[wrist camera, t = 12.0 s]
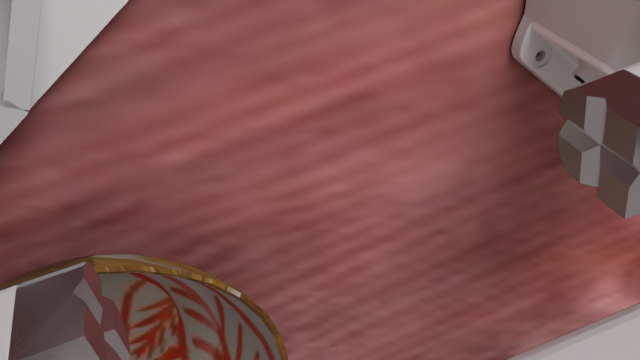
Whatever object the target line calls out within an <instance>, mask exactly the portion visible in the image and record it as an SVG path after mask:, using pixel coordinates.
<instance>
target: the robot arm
mask: <svg viewBox="0 0 640 360" xmlns="http://www.w3.org/2000/svg"><path fill="white" fill-rule="evenodd" d="M538 52H540V53H539V55H538V56H537V57H536V55H537V53H538ZM512 55H513V57H514V58H515V59H516V60H517V61H518V62H519V63H520V64H521V65H523V66H524V67H525V68H526V69H527V70H529V71H530V72H531V73H532V74H533V75H535V76H536V77H537V78H538V79H540V80H541V81H542V82H543V83H544V84H546V85H547V86H548V87H549V88H550V89H552V90H553V91H554V92H555V93H556V94H558V95H559V96H560V97H561V99H560V111H559V113H560V114H561V115H562V116H563V117H564V119H565V120H566V123H565V124H564V126H563V128H562V129H561V131H560V133H559V134H558V152H559V155H560V158H561V160H562V163H563V166H564V167H565V168H566V170H567V171H568V173H569V174H570V175H571V176H572V177H573V178H575V179H576V180H577V181H578V182H579V183H582V184H586V185H590V186H594V187H596V188H597V197H598V198H599V199H600V200H601V201H603V202H604V203H605V204H606V205H608V206H609V207H610V208H611V209H613V210H614V211H615V212H616V213H618V214H619V215H620V216H621V217H623V218H624V219H627V218H629V217H632V216H635V215H638V214H640V0H526V6H525V12H524V15H523V18H522V20H521V22H520V25H519V27H518V29H517V32H516V34H515V37H514V40H513V43H512ZM130 356H131V354H130V346H129V339H128V336H127V332H126V328H125V324H124V322H123V319H122V317H121V315H120V312H119V310H118V308H117V307H116V305H115V303H114V301H113V299H110V298H108V297H105V296H103V295H102V287H101V279H100V277H99V276H98V274H97V272H96V271H95V269H94V267H93V266H92V264H90V263H88V262H83V263H80V264H77V265H74V266H71V267H68V268H65V269H62V270H59V271H56V272H53V273H50V274H47V275H44V276H41V277H38V278H35V279H32V280H29V281H26V282H23V283H21V284H20V285H15V286H12V287H9V288H6V289H3V290H1V291H0V360H129V358H130ZM506 360H640V303H638V304H635V305H633V306H631V307H628V308H626V309H624V310H621V311H619V312H617V313H614V314H612V315H610V316H607V317H605V318H602V319H600V320H598V321H595V322H593V323H591V324H588V325H586V326H584V327H581V328H579V329H577V330H574V331H572V332H570V333H567V334H565V335H563V336H560V337H558V338H556V339H553V340H551V341H549V342H546V343H544V344H541V345H539V346H537V347H534V348H532V349H530V350H527V351H525V352H523V353H520V354H518V355H516V356H513V357H511V358H509V359H506Z"/></svg>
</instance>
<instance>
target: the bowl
mask: <svg viewBox="0 0 640 360" xmlns="http://www.w3.org/2000/svg"><path fill="white" fill-rule="evenodd" d="M83 262H88V263H90V264H92V266H93V267H94V269H95V271H96V272H97V274H98V276H99V277H100V279H101V287H102V295H103V296H105V297H108V298H110V299H113V301H114V303H115V305H116V307H117V308H118V310H119V312H120V315H121V317H122V319H123V322H124V324H125V328H126V332H127V336H128V339H129V346H130V354H131V356H130V358H129V360H288V355H287V352H286V349H285V346H284V343H283V340H282V336H281V334H280V332H279V331H278V329H277V328H276V326H275V325H274V323H273V322H272V320H271V319H270V317H269V316H268V315H267V313H266V312H265V311H263V310H262V309H261V308H260V307H259V306H258V305H256V304H255V303H254V302H253V301H252V300H250V299H249V298H248V297H247V296H246V295H244V294H243V293H242V292H240V291H239V290H237V289H236V288H234V287H233V286H231V285H229V284H227V283H225V282H224V281H222V280H220V279H218V278H216V277H214V276H212V275H210V274H208V273H206V272H204V271H202V270H200V269H198V268H196V267H193V266H189V265H186V264H183V263H179V262H176V261H172V260H169V259H165V258H159V257H150V256H142V255H133V254H109V255H92V256H87V257H81V258H76V259H70V260H65V261H60V262H57V263H55V264H52V265H49V266H46V267H43V268H40V269H37V270H34V271H31V272H28V273H25V274H22V275H19V276H17V277H15V278H13V279H12V280H10V281H8V282H6V283H4V284H2V285H0V291H1V290H3V289H6V288H9V287H12V286H15V285H20V284H21V283H23V282H26V281H29V280H32V279H35V278H38V277H41V276H44V275H47V274H50V273H53V272H56V271H59V270H62V269H65V268H68V267H71V266H74V265H77V264H80V263H83Z"/></svg>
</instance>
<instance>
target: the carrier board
mask: <svg viewBox="0 0 640 360" xmlns="http://www.w3.org/2000/svg"><path fill="white" fill-rule="evenodd" d="M128 1H129V0H0V144H1V143H2V142H3V141H4V140H5V139H6V138H7V136H8V135H9V134H10V133H11V132H12V131H13V130H14V129H15V128H16V127H17V125H18V124H19V123H20V122H21V121H22V120H23V119H24V118H25V117H26V116H27V114H28V112H29V110H30V109H31V107H32V106H33V105H34V104H35V103H36V102H37V101H38V100H39V99H40V98H41V96H42V95H43V94H44V93H45V92H46V91H47V90H48V89H49V88H50V87H51V85H52V84H53V83H54V82H55V81H56V80H57V79H58V78H59V77H60V75H61V74H62V73H63V72H64V71H65V70H66V69H67V68H68V67H69V66H70V64H71V63H72V62H73V61H74V60H75V59H76V58H77V57H78V56H79V55H80V53H81V52H82V51H83V50H84V49H85V48H86V47H87V46H88V45H89V44H90V42H91V41H92V40H93V39H94V38H95V37H96V36H97V35H98V34H99V33H100V31H101V30H102V29H103V28H104V27H105V26H106V25H107V24H108V23H109V22H110V20H111V19H112V18H113V17H114V16H115V15H116V14H117V13H118V12H119V10H120V9H121V8H122V7H123V6H124V5H125V4H126V3H127V2H128Z"/></svg>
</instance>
